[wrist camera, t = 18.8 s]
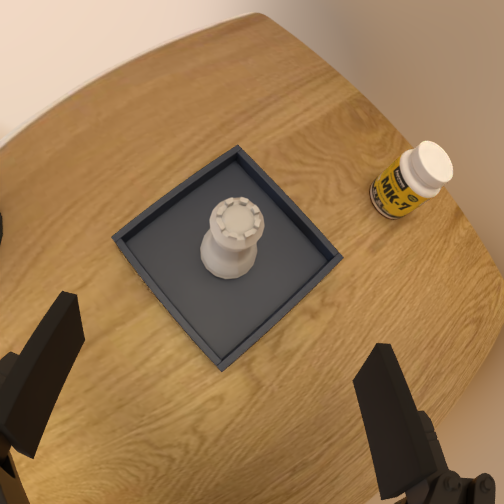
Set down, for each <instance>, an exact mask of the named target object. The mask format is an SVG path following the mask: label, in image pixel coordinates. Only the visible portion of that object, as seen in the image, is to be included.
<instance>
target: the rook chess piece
mask: <svg viewBox="0 0 504 504" xmlns="http://www.w3.org/2000/svg"><path fill="white" fill-rule="evenodd" d="M263 230H264V219H263V215H262V213H261V212H260V210H259V208H258V207H257V206H256V205H254V204H253V203H252V202H251V201H249V199H247V198H243V197H241V198H229V199H226V200H224V201H222V202H220V203H219V204H218V205H217V206H216V207H215V208H214V209H213V211H212V214H211V217H210V229H209V230H208V232H207V233H206V234H205V235H204V238H203V241H202V244H201V247H200V251H201V260H202V261H203V263H204V265H205V267H206V269H207V270H209V271H210V272H211V273H212V274H213V275H215V276H217V277H221V278H224V279H232V278H238V277H240V276H242V275H244V274H246V273H247V272H248V271H249V270H250V268H251V267H252V266H253V265H254V262H255V258H256V255H257V244H256V242H257V241H258V240H259V239H260V237H261V236H262V233H263Z"/></svg>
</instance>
